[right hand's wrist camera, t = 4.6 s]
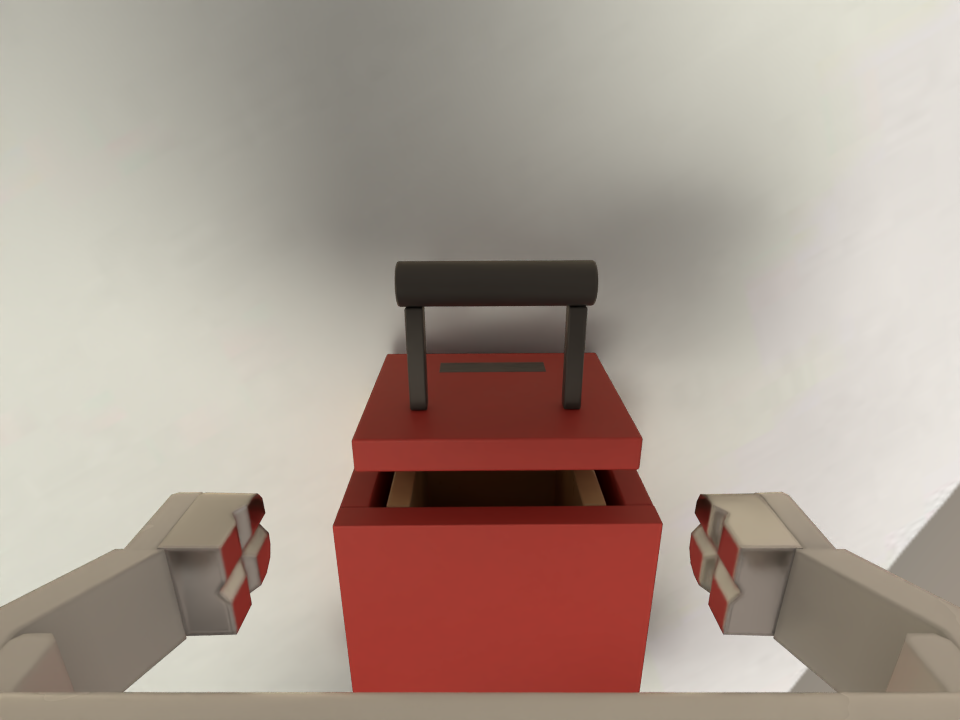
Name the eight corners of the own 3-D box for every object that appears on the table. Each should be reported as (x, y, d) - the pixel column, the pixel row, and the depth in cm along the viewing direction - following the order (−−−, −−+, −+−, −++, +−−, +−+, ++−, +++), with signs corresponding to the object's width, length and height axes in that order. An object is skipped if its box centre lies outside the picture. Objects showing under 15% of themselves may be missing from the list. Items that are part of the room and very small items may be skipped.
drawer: (378, 234, 23) (334, 278, 16) (605, 233, 23) (662, 277, 16) (406, 631, 31) (385, 779, 24) (574, 630, 31) (604, 777, 24)
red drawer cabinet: (380, 395, 27) (331, 525, 18) (600, 394, 27) (663, 523, 18) (401, 666, 33) (373, 862, 24) (578, 665, 33) (616, 860, 24)
